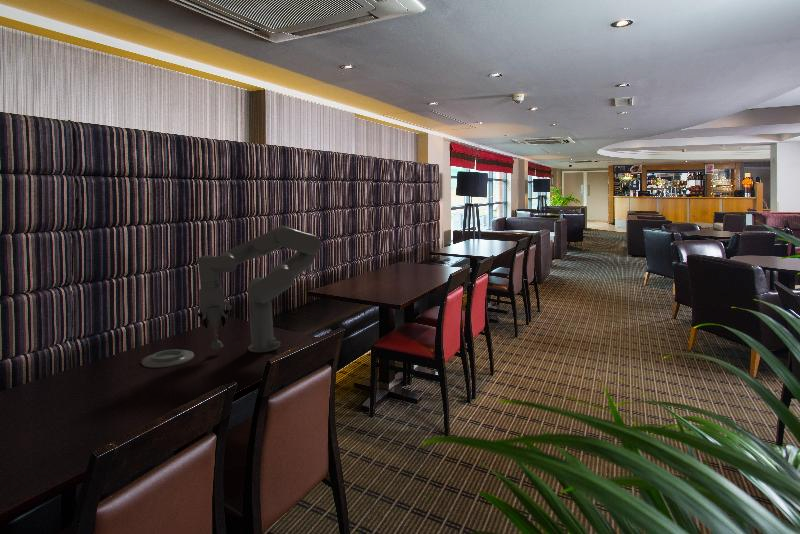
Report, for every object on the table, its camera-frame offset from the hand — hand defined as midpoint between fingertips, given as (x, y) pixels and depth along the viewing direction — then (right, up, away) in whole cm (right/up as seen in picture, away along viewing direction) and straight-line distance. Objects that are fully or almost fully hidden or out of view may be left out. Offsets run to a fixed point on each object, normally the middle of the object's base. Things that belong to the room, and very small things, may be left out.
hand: (214, 326), depth 214 cm
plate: (-18, -14, -3) cm, 23 cm away
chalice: (0, -9, +2) cm, 9 cm away
